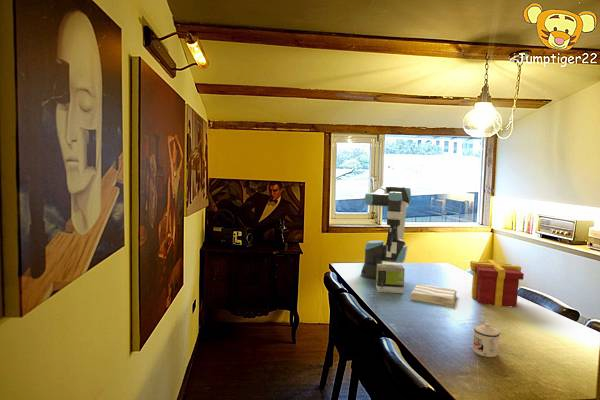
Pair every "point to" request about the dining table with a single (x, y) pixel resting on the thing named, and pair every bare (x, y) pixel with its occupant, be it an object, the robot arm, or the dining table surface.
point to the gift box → (495, 283)
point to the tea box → (390, 278)
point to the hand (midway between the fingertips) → (391, 255)
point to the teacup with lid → (486, 340)
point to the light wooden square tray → (434, 295)
